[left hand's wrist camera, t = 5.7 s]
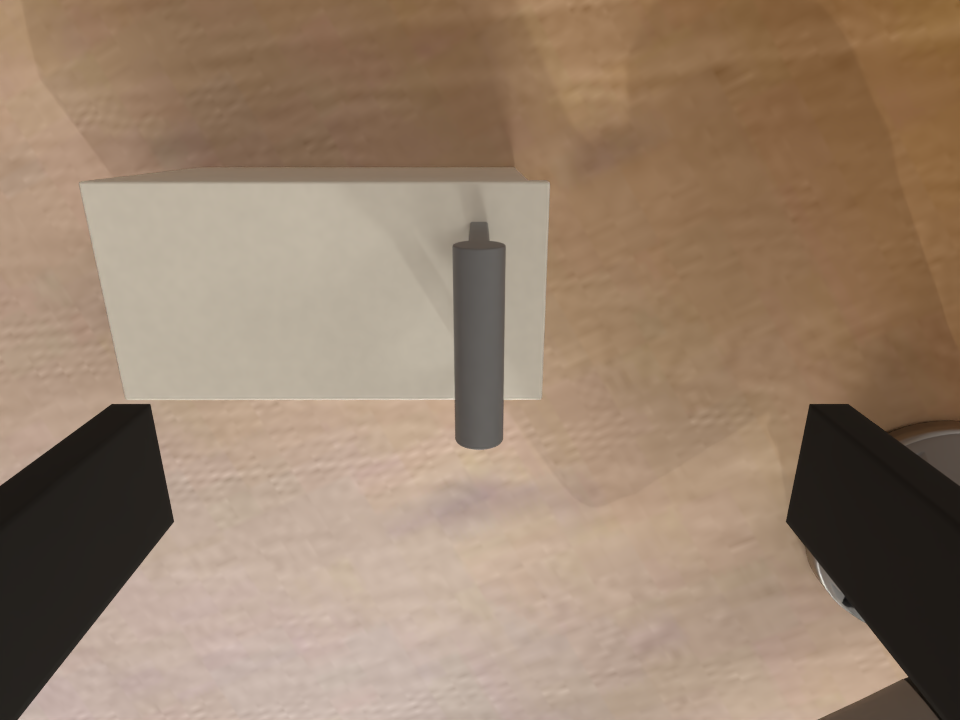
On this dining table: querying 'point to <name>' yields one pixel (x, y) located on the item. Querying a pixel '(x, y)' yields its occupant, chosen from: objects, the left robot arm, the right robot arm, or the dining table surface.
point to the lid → (327, 290)
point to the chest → (333, 173)
